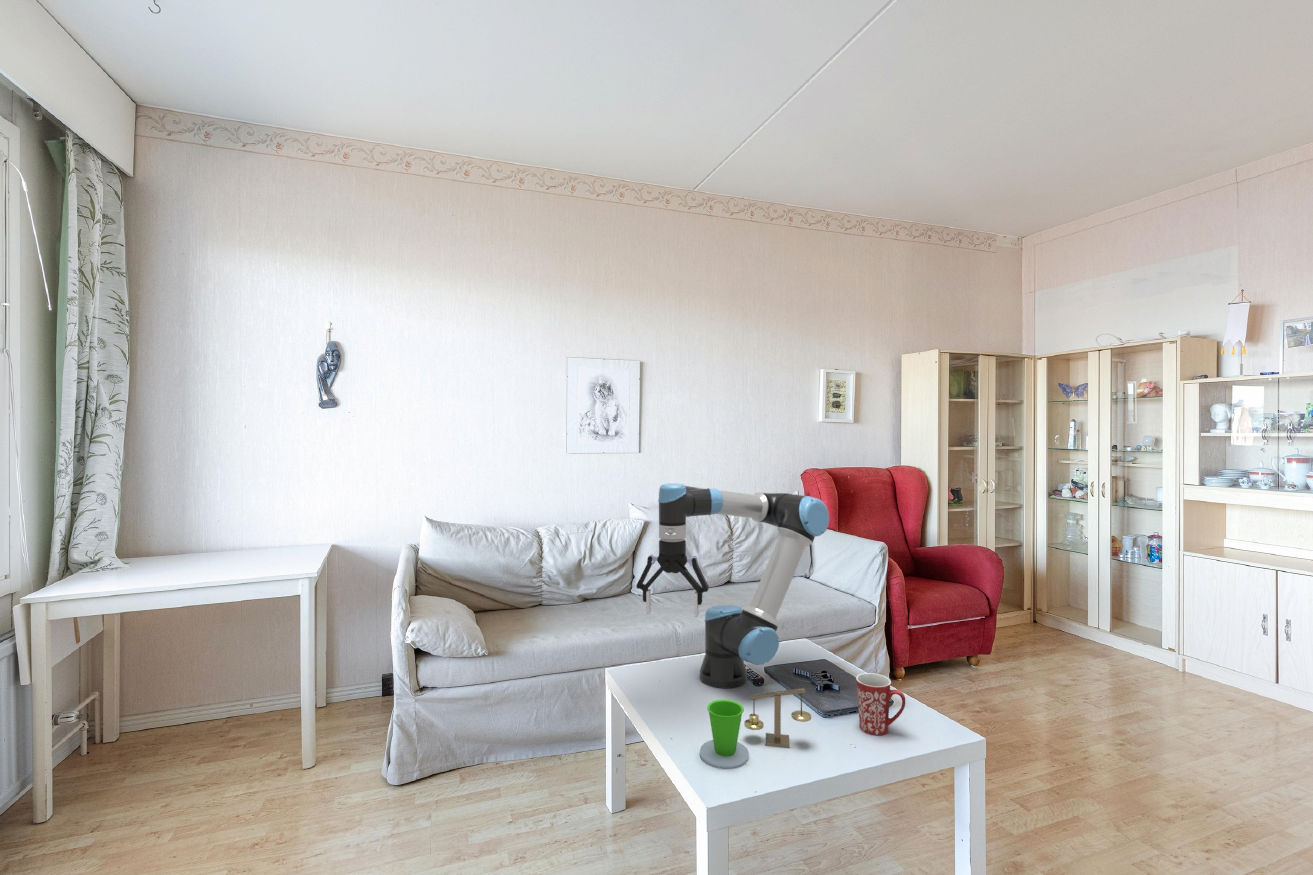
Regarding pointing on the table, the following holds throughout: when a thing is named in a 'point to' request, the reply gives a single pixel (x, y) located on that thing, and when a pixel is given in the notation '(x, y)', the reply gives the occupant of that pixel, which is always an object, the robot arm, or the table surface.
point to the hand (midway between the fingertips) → (672, 614)
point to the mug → (875, 703)
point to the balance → (776, 717)
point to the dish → (723, 762)
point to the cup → (725, 725)
